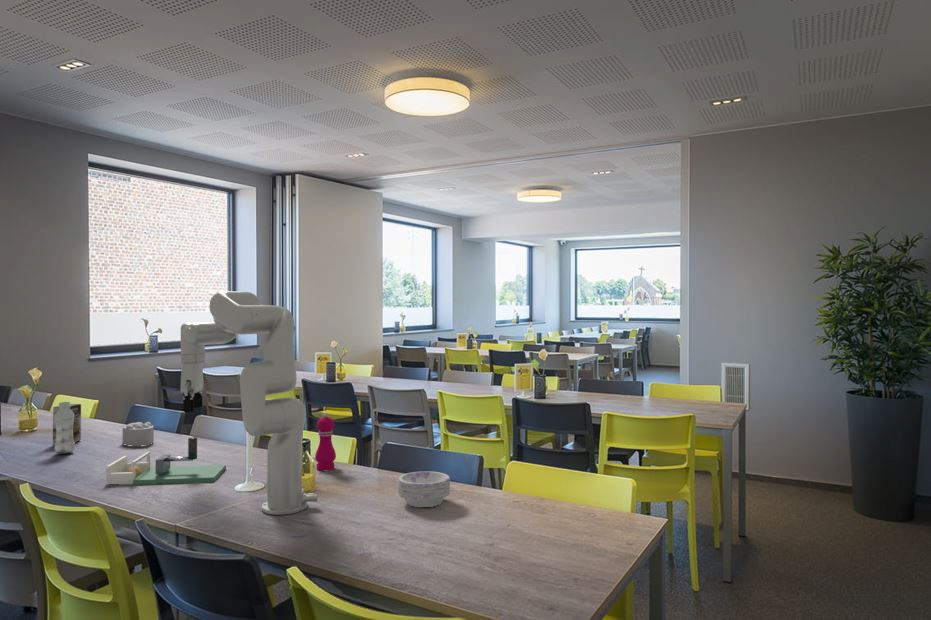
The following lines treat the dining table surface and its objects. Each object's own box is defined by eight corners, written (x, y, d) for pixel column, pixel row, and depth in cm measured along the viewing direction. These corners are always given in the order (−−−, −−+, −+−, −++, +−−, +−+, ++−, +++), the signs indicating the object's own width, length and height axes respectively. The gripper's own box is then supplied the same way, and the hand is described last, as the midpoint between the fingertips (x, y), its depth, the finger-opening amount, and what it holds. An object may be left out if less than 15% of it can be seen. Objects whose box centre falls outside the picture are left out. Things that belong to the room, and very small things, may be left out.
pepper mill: (330, 472, 212) (330, 415, 212) (311, 470, 214) (311, 414, 214) (339, 466, 219) (339, 411, 219) (320, 465, 221) (320, 410, 221)
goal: (150, 472, 211) (150, 451, 211) (134, 483, 197) (134, 461, 197) (124, 473, 210) (124, 452, 209) (106, 484, 196) (106, 462, 196)
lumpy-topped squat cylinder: (144, 439, 263) (144, 419, 263) (159, 443, 256) (159, 423, 256) (119, 443, 255) (119, 423, 255) (134, 448, 247) (134, 427, 247)
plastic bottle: (78, 453, 238) (78, 402, 238) (59, 456, 233) (59, 404, 233) (70, 450, 242) (70, 400, 242) (51, 454, 236) (51, 403, 236)
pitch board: (225, 469, 215) (225, 464, 215) (213, 481, 200) (213, 477, 200) (151, 471, 212) (151, 467, 212) (132, 484, 196) (132, 480, 196)
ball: (136, 479, 205) (144, 470, 206) (131, 482, 201) (140, 473, 202) (127, 471, 205) (135, 462, 205) (122, 474, 201) (131, 465, 201)
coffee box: (67, 446, 250) (67, 407, 250) (52, 446, 250) (52, 407, 250) (81, 441, 259) (81, 403, 259) (66, 441, 259) (66, 403, 259)
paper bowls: (426, 492, 189) (426, 467, 189) (460, 503, 178) (460, 476, 178) (387, 503, 179) (387, 476, 179) (421, 516, 168) (421, 487, 168)
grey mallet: (199, 467, 210) (200, 435, 210) (193, 473, 203) (193, 440, 203) (162, 468, 208) (162, 436, 208) (155, 474, 201) (155, 441, 201)
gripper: (189, 357, 214) (189, 406, 214) (172, 361, 197) (173, 413, 197) (211, 357, 215) (211, 405, 215) (197, 360, 198) (197, 413, 198)
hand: (193, 409), depth 206 cm, fingers open, 9 cm apart
